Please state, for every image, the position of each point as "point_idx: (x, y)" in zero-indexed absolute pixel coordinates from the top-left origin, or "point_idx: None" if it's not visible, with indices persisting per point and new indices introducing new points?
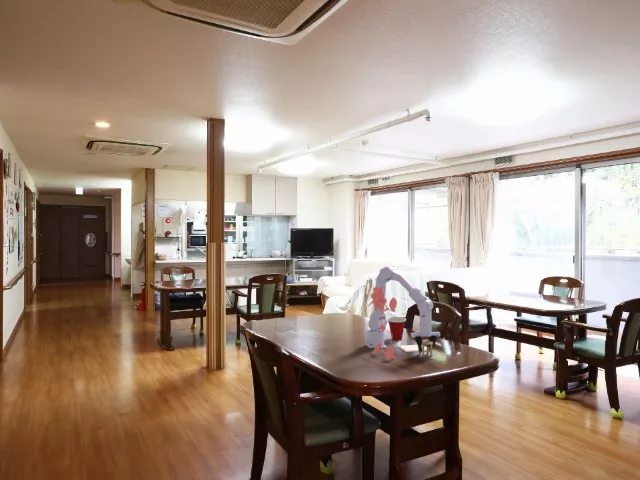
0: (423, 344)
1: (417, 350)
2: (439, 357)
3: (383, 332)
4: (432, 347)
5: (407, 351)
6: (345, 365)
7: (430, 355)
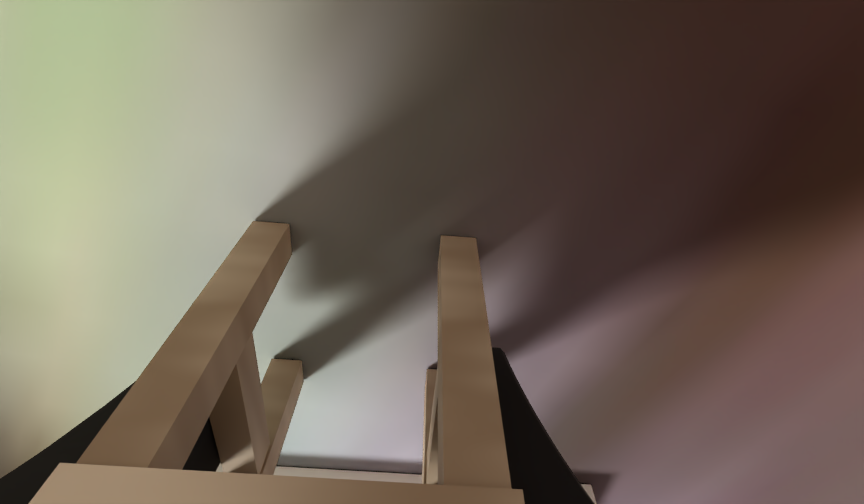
0: (491, 487)
1: None
2: (107, 95)
3: None
4: None
5: None
6: None
7: (287, 247)
